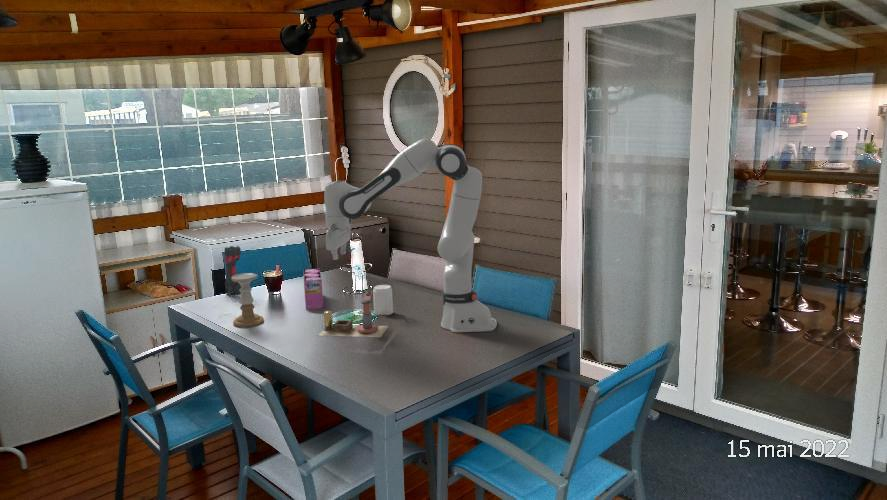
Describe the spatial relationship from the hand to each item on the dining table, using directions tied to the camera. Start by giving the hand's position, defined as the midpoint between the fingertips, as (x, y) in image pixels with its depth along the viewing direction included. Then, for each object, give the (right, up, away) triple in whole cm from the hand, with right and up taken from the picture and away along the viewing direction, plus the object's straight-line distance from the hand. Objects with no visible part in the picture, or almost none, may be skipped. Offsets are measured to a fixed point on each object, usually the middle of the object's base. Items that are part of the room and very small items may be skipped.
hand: (339, 256), depth 254 cm
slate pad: (-4, -29, 0) cm, 29 cm away
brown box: (+2, -29, -1) cm, 29 cm away
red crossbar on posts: (+11, -28, +1) cm, 30 cm away
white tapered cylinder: (+15, -25, +22) cm, 36 cm away
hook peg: (-4, -28, 0) cm, 29 cm away
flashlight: (-60, -19, +61) cm, 87 cm away
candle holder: (-40, -28, +15) cm, 51 cm away
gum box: (-18, -22, +42) cm, 51 cm away
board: (+6, -30, -2) cm, 31 cm away
